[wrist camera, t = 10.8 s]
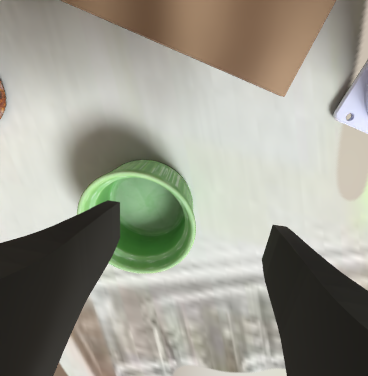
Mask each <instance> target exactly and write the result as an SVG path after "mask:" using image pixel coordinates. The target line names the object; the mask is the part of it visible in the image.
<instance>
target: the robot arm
mask: <svg viewBox="0 0 368 376" xmlns="http://www.w3.org/2000/svg"><path fill="white" fill-rule="evenodd" d="M349 113H351V118H350V119H349V120H346V116H347V115H348V114H349ZM334 118H335V119H336V120H337V121H339V122H342V123H344V124H346V125H349V126H351V127H353V128H356V129H358V130H360V131H362V132H365V133H367V134H368V60H367V62H366V63H365V65H364V66H363V68H362V69H361V71H360V73H359V74H358V76H357V77H356V79H355V80H354V82H353V83H352V85H351V87H350V88H349V90H348V91H347V93H346V94H345V96H344V97H343V99H342V101H341V102H340V104H339V105H338V107H337V108H336V110H335V112H334ZM119 239H120V202H116V201H109V200H107V201H105V202H102V203H100V204H98V205H96V206H94V207H92V208H90V209H88V210H86V211H84V212H82V213H80V214H78V215H76V216H74V217H72V218H70V219H67V220H65V221H63V222H61V223H59V224H56V225H54V226H52V227H49V228H47V229H44V230H41V231H39V232H36V233H33V234H30V235H27V236H24V237H20V238H17V239H13V240H10V241H6V242H3V243H0V376H53V375H54V373H55V370H56V368H57V365H58V363H59V361H60V358H61V356H62V353H63V351H64V349H65V346H66V344H67V342H68V339H69V337H70V335H71V333H72V330H73V328H74V326H75V324H76V321H77V319H78V317H79V315H80V313H81V311H82V308H83V306H84V304H85V302H86V300H87V299H88V297H89V295H90V293H91V291H92V290H93V288H94V286H95V285H96V283H97V281H98V280H99V278H100V276H101V275H102V273H103V271H104V270H105V268H106V266H107V264H108V263H109V261H110V259H111V258H112V256H113V254H114V251H115V249H116V247H117V244H118V242H119ZM262 264H263V272H264V278H265V283H266V286H267V290H268V294H269V297H270V301H271V304H272V308H273V311H274V315H275V318H276V322H277V325H278V329H279V334H280V338H281V343H282V349H283V355H284V360H285V367H286V373H287V376H368V291H367V290H366V289H364V288H363V287H361V286H360V285H358V284H357V283H356V282H354V281H353V280H351V279H350V278H348V277H347V276H346V275H344V274H343V273H341V272H340V271H339V270H338V269H336V268H335V267H334V266H332V265H331V264H330V263H329V262H327V261H326V260H325V259H324V258H323V257H321V256H320V255H319V254H318V253H317V252H315V251H314V250H313V249H312V248H311V247H310V246H309V245H307V244H306V243H305V242H304V241H303V240H302V239H301V238H299V237H298V236H297V235H296V234H295V233H294V232H292V231H291V230H290V229H289V228H287V227H285V226H278V225H273V226H272V229H271V232H270V236H269V239H268V242H267V245H266V248H265V251H264V255H263V258H262Z"/></svg>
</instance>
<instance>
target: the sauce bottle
mask: <svg viewBox="0 0 368 376" xmlns="http://www.w3.org/2000/svg"><path fill="white" fill-rule="evenodd" d="M5 101H6V95H5V91H4V88H3V85H2V83H1V81H0V119H1V117H2V115H3V113H4V111H5V107H6V102H5Z"/></svg>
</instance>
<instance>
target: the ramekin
mask: <svg viewBox="0 0 368 376" xmlns="http://www.w3.org/2000/svg"><path fill="white" fill-rule="evenodd" d="M107 200H109V201H116V202H120V239H119V242H118V244H117V247H116V249H115V251H114V254H113V256H112V258H111V259H110V261H109V264H111V265H113V266H114V267H117V268H119V269H122V270H125V271H129V272H133V273H157V272H161V271H164V270H167V269H169V268H172V267H174V266H175V265H177V264H178V263H179V262H181V261H182V260H183V259H184V258H185V257H186V255H187V254H188V253H189V251H190V249H191V247H192V245H193V242H194V239H195V233H196V224H195V218H194V214H193V201H192V196H191V192H190V190H189V187H188V185H187V184H186V182H185V180H184V179H183V178H182V177H181V176H180V175H179V174H178V173H177V172H176V171H175V170H173V169H172V168H170V167H169V166H167V165H165V164H162V163H159V162H156V161H151V160H135V161H131V162H128V163H125V164H123V165H121V166H119V167H118V168H116V169H115V170H113V171H112V172H110V173H107V174H105V175H103V176H101V177H99V178H97V179H96V180H95V181H93V182H92V183H91V184H90V185H89V186H88V187H87V188H86V190H85V191H84V192H83V194H82V196H81V198H80V201H79V204H78V210H77V215H78V214H80V213H82V212H84V211H86V210H88V209H90V208H92V207H94V206H96V205H98V204H100V203H102V202H105V201H107Z"/></svg>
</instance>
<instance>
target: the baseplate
mask: <svg viewBox="0 0 368 376" xmlns="http://www.w3.org/2000/svg"><path fill="white" fill-rule="evenodd" d="M61 1H63V2H65V3H68V4H70V5H72V6H74V7H77V8H79V9H81V10H84V11H86V12H88V13H91V14H93V15H95V16H98V17H100V18H102V19H104V20H107V21H109V22H111V23H114V24H116V25H118V26H121V27H123V28H125V29H127V30H130V31H132V32H134V33H137V34H139V35H141V36H144V37H146V38H148V39H150V40H153V41H155V42H157V43H160V44H162V45H164V46H167V47H169V48H171V49H173V50H176V51H178V52H180V53H183V54H185V55H187V56H190V57H192V58H194V59H196V60H199V61H201V62H203V63H206V64H208V65H210V66H213V67H215V68H217V69H219V70H222V71H224V72H226V73H229V74H231V75H233V76H236V77H238V78H240V79H242V80H245V81H247V82H249V83H252V84H254V85H256V86H259V87H261V88H263V89H265V90H268V91H270V92H272V93H275V94H277V95H280V96H283V97H284V96H285V95H286V93H287V91H288V89H289V87H290V85H291V83H292V81H293V80H294V78H295V76H296V74H297V72H298V70H299V68H300V67H301V65H302V63H303V61H304V59H305V57H306V55H307V54H308V52H309V50H310V48H311V46H312V44H313V42H314V41H315V39H316V37H317V35H318V33H319V31H320V29H321V28H322V26H323V24H324V22H325V20H326V18H327V16H328V15H329V13H330V11H331V9H332V7H333V5H334V3H335V2H336V0H61Z"/></svg>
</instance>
